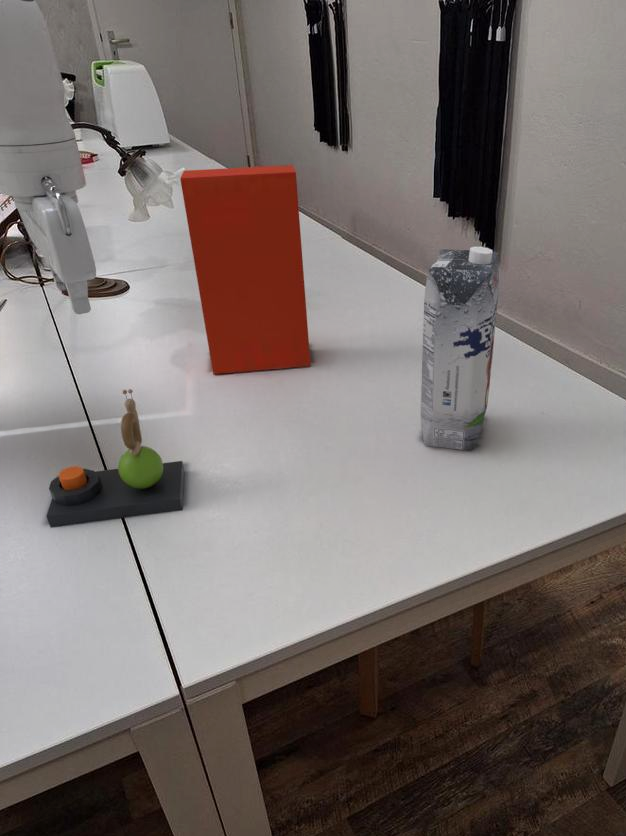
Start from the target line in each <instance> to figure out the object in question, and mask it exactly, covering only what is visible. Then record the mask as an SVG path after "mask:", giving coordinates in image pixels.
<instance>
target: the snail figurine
mask: <svg viewBox="0 0 626 836" xmlns="http://www.w3.org/2000/svg"><path fill="white" fill-rule="evenodd" d="M133 391H134V390H133V389H132V388H129V389H128V390H127V389H123V390H122V394H123V395H125V401H124V407H125V409H126V413H124V415H123V416H122V417H121V421H120V432H121V438H122V442H123V443H124V446H125V447H126V448H127V450H125V451H124V452H123V453H122V454H121V457H119V460H118V465H117V469H118V471H119V474H120V477H121V478H122V480H123V481H124V482H125V483H126V484H127V485H129V486H131V487H133V488H138V489H144V488H148V487H151V486H153V485H154V484H156V483H157V482H158V481H159V479H160V478H161V476H162V473H163V463H164V462H163V460H162V457H161V456H160V454H159V453H158V452H157V451H156V450H155V449H153V448H151V447H148V446H144V445H142V443H143V438H142V437H143V436H142V431H141V426H140V419H139V415H138V411H137V407H136V406H137V405H136V402H135V400H134V398H133V393H134V392H133ZM127 394H130V395H131V398H128V397H127Z"/></svg>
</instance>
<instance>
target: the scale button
mask: <svg viewBox="0 0 626 836" xmlns="http://www.w3.org/2000/svg"><path fill="white" fill-rule="evenodd" d="M84 469H85V468H83V467H82V466H78V465H75V466H73V465H72V466H68V467H66V468H63V469H62V470H61V471H60V472H59V473H58V476H59V479H60V482H61V485H62V487H63V489H65V490H73V489H78V488H80V487H83V486H84V485H85V484H86V483H87V479H86V475H85V472H84Z"/></svg>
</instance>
